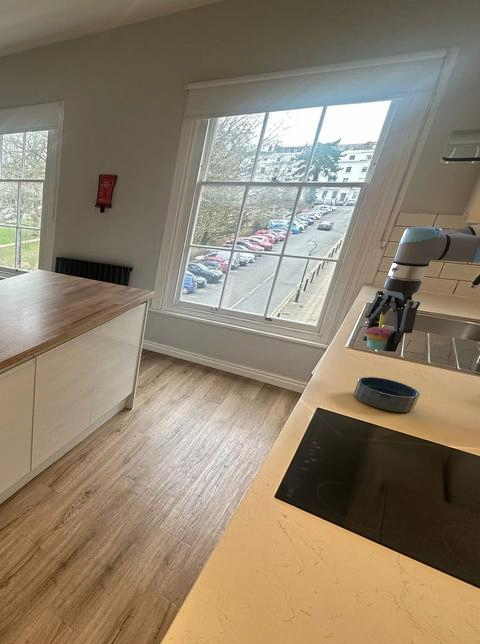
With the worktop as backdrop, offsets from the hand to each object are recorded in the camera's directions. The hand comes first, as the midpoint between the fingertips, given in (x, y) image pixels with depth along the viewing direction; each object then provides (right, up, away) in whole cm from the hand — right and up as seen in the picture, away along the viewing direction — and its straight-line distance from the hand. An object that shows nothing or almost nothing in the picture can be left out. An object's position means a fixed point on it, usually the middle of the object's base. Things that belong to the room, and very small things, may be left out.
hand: (378, 345), depth 131 cm
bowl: (-7, -17, -8) cm, 21 cm away
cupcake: (0, -1, 0) cm, 1 cm away
